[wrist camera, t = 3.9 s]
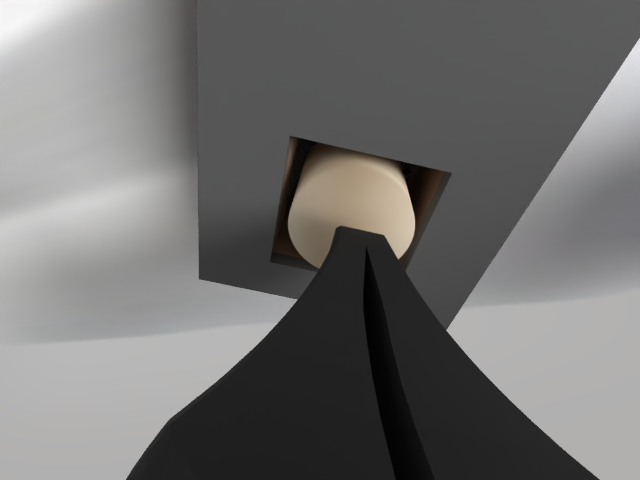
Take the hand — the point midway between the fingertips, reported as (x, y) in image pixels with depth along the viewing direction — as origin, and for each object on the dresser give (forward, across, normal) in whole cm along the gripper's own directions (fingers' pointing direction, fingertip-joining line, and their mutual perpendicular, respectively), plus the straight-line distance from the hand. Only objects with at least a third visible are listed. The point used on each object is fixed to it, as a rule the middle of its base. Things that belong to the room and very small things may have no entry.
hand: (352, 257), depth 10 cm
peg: (+5, 0, 0) cm, 5 cm away
